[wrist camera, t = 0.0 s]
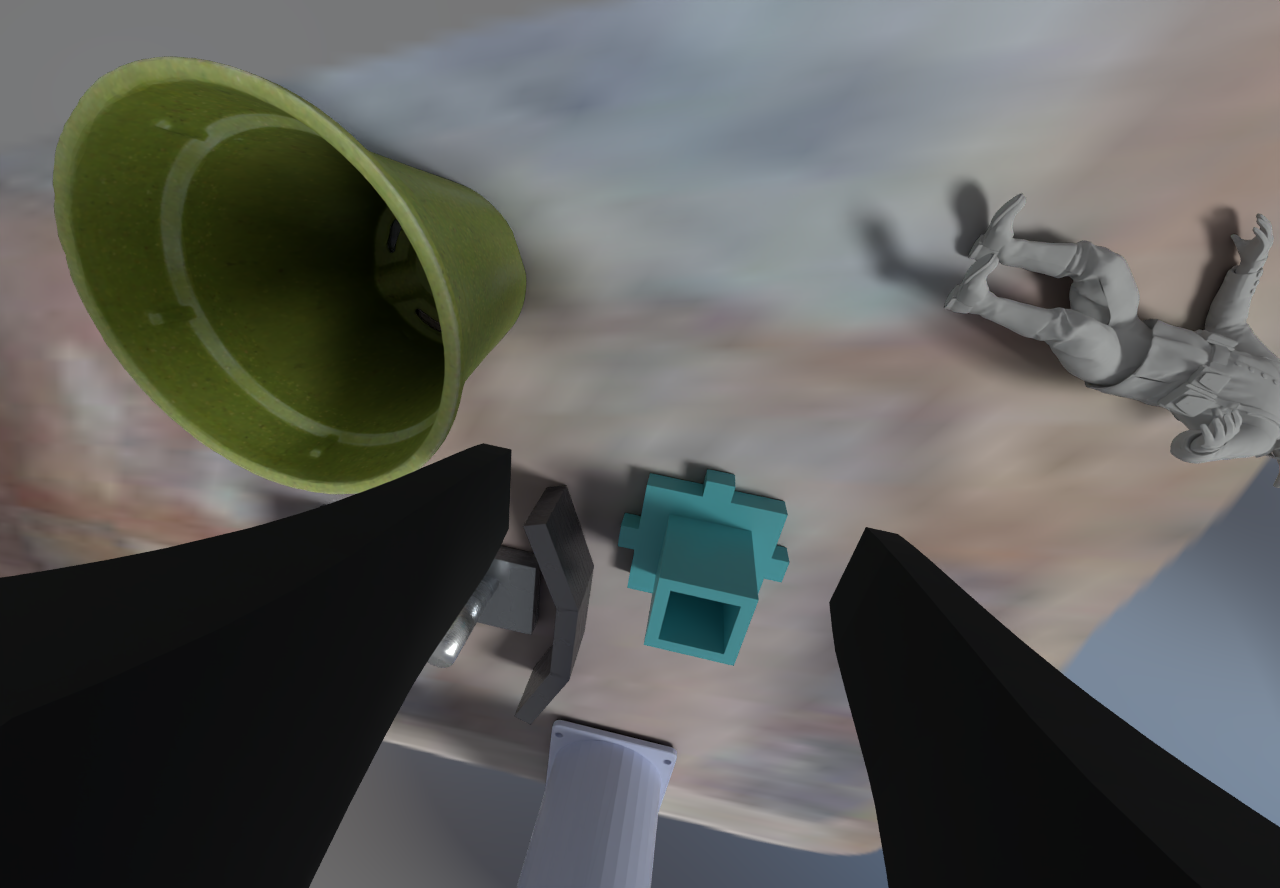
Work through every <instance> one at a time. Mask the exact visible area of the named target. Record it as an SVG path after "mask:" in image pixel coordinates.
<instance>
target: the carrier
mask: <svg viewBox="0 0 1280 888" xmlns="http://www.w3.org/2000/svg"><path fill="white" fill-rule="evenodd" d="M322 506H323V505H322ZM322 506H321V507H322ZM523 527H524V529H525V532H526V534H527V537H528V539H529V542H530V544H531V547H532V549H533V552H534V553H531V552H527V551H522V550H518V549H513V548H509V547H504V546H500V548H499V550H498V552H497V554H496V556H495V558H494V560H493V562H492V564H491V566H490V568H489V570H488V571H487V573H486V574H485V576H484V578H483V579H482V581H481V582H480V584H479V585H478V587H477V588H476V590H475V591H474V593H473V594H472V596H471V597H470V599H469V600H468V602H467V603H466V605H465V606H464V608H463V609H462V611H461V612H460V614H459V615H458V617H457V618H456V620H455V621H454V623H453V624H452V626H451V627H450V629H449V630H448V632H447V633H446V635H445V636H444V638H443V639H442V641H441V642H440V643H439V645H438V646H437V648H436V649H435V651H434V652H433V654H432V655H431V657H430V658H429V660H428V661H427V662H428V663H430V664H431V665H434V666H436V667H441V668H446V667H450V666H451V665H452V664H453V663H454V661H455V660H456V658H457V656H458V654H459V653H460V651H461V649H462V647H463V646H464V644H465V642H466V641H467V639H468V637H469V635H470V634H471V632H472V630H473V628H474V627H475V625H476V623H477V622H479V623H483V624H487V625H491V626H496V627H500V628H504V629H508V630H513V631H517V632H521V633H525V634H529V635H531V634H532V632H533V630H534V628H535V625H536V623H537V621H538V608H539V594H540V581H541V572H542V574H543V577H544V579H545V582H546V584H547V587H548V589H549V592H550V594H551V597H552V599H553V602H554V604H555V607H556V609H557V610H556V620H555V630H554V640H553V644H552V646H551V647H550V648H549V649H548V651H547V652H546V653H545V654H544V656H543V657H542V658H541V660H540V661H539V662H538V663H537V665H536V666H535V667H534V668H533V671H532V673H531V676H530V678H529V681H528V683H527V686H526V688H525V691H524V693H523V696H522V698H521V701H520V703H519V706H518V708H517V711H516V713H515V717H517V718H518V719H520V720H522V721H524V722H526V723H528V724H530V725H531V723H532V722H533V721H534V720H535V719H536V718H537V717H538V715H539V714H540V713H541V712H542V711H543V710H544V709H545V707H546V706H547V705H548V704H549V703H550V702H551V701H552V699H553V698H554V697H555V696H556V695H557V694H558V693H559V691H560V690H561V689H562V688H563V687H564V686H565V685H566V683H567V682H568V681H569V679H570V676H571V673H572V670H573V667H574V663H575V660H576V657H577V654H578V651H579V647H580V644H581V641H582V638H583V635H584V632H585V625H586V618H587V611H588V604H589V597H590V590H591V583H592V576H593V569H594V565H593V562H592V559H591V556H590V553H589V550H588V547H587V544H586V541H585V538H584V535H583V533H582V530H581V527H580V524H579V521H578V518H577V515H576V512H575V509H574V506H573V503H572V500H571V497H570V494H569V491H568V488H567V485H565V486H557V487H549V488H546V490H545V491H544V493H543V495H542V496H541V498H540V500H539V501H538V503H537V505H536V506H535V508H534V510H533V511H532V513H531V514H530V516H529V518H528V519H527V521H526V523H525V524H524V526H523Z"/></svg>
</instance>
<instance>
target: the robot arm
mask: <svg viewBox="0 0 1280 888" xmlns="http://www.w3.org/2000/svg"><path fill="white" fill-rule="evenodd" d="M510 477H511V449H506V448H502V447H497V446H493V445H488V444H484V443H483V444H480V445H477V446H474V447H471V448H468V449H466V450H463V451H461V452H459V453H456V454H454V455H451V456H449V457H447V458H444V459H442V460H440V461H437V462H435V463H433V464H430V465H428V466H426V467H423V468H421V469H419V470H416V471H414V472H411V473H409V474H407V475H404V476H402V477H399V478H397V479H395V480H392V481H390V482H387V483H384V484H382V485H379V486H376V487H374V488H371V489H368V490H366V491H363V492H360V493H358V494H355V495H352V496H350V497H347V498H344V499H342V500H339V501H336V502H334V503H331V504H328V505H325V506H322V507H319V508H316V509H313V510H309V511H306V512H303V513H300V514H297V515H293V516H290V517H287V518H283V519H280V520H276V521H273V522H270V523H266V524H263V525H259V526H255V527H252V528H248V529H244V530H240V531H236V532H232V533H227V534H223V535H219V536H215V537H211V538H206V539H202V540H198V541H194V542H190V543H185V544H181V545H177V546H173V547H169V548H164V549H160V550H155V551H150V552H145V553H140V554H135V555H130V556H125V557H120V558H115V559H109V560H104V561H99V562H93V563H87V564H82V565H76V566H70V567H65V568H59V569H53V570H47V571H41V572H35V573H29V574H22V575H16V576H10V577H3V578H0V888H309V886H310V884H311V882H312V880H313V878H314V876H315V874H316V872H317V870H318V867H319V866H320V863H321V861H322V859H323V857H324V855H325V853H326V851H327V849H328V847H329V845H330V843H331V841H332V839H333V837H334V835H335V833H336V831H337V829H338V827H339V825H340V823H341V821H342V819H343V817H344V814H345V813H346V811H347V808H348V806H349V804H350V802H351V800H352V799H353V797H354V795H355V793H356V791H357V789H358V787H359V785H360V783H361V781H362V779H363V777H364V775H365V773H366V771H367V770H368V768H369V766H370V764H371V762H372V760H373V758H374V756H375V754H376V752H377V750H378V748H379V746H380V744H381V742H382V741H383V739H384V737H385V735H386V733H387V731H388V730H389V728H390V726H391V724H392V722H393V720H394V718H395V717H396V715H397V713H398V711H399V709H400V707H401V706H402V704H403V702H404V700H405V698H406V696H407V694H408V693H409V691H410V689H411V687H412V686H413V684H414V682H415V681H416V679H417V677H418V676H419V674H420V673H421V671H422V669H423V668H424V666H425V664H426V663H427V661H428V660H429V658H430V657H431V655H432V654H433V652H434V651H435V649H436V648H437V646H438V645H439V643H440V642H441V641H442V639H443V638H444V636H445V635H446V633H447V632H448V630H449V629H450V627H451V626H452V624H453V623H454V621H455V620H456V618H457V617H458V615H459V614H460V612H461V611H462V609H463V608H464V606H465V605H466V603H467V602H468V600H469V599H470V597H471V596H472V594H473V593H474V591H475V590H476V588H477V587H478V585H479V584H480V582H481V581H482V579H483V578H484V576H485V574H486V573H487V571H488V570H489V568H490V566H491V564H492V562H493V560H494V558H495V556H496V554H497V552H498V550H499V548H500V546H501V544H502V542H503V540H504V537H505V535H506V533H507V531H508V529H509V504H510ZM829 603H830V613H831V622H832V631H833V638H834V645H835V652H836V656H837V660H838V664H839V668H840V672H841V675H842V679H843V683H844V687H845V691H846V695H847V698H848V702H849V706H850V709H851V713H852V717H853V721H854V724H855V728H856V732H857V735H858V739H859V743H860V747H861V750H862V754H863V758H864V761H865V765H866V769H867V772H868V777H869V781H870V785H871V790H872V794H873V799H874V803H875V808H876V814H877V820H878V826H879V832H880V838H881V843H882V849H883V855H884V861H885V867H886V873H887V879H888V887H889V888H1280V827H1279V826H1277V825H1276V824H1274V823H1273V822H1271V821H1269V820H1268V819H1266V818H1265V817H1263V816H1262V815H1260V814H1259V813H1257V812H1256V811H1254V810H1252V809H1251V808H1250V807H1248V806H1247V805H1245V804H1244V803H1242V802H1241V801H1239V800H1238V799H1236V798H1235V797H1233V796H1232V795H1230V794H1229V793H1227V792H1226V791H1224V790H1223V789H1221V788H1220V787H1218V786H1217V785H1215V784H1214V783H1212V782H1211V781H1209V780H1208V779H1206V778H1205V777H1203V776H1202V775H1200V774H1199V773H1197V772H1196V771H1194V770H1193V769H1191V768H1190V767H1188V766H1187V765H1186V764H1184V763H1182V762H1181V761H1180V760H1178V759H1177V758H1176V757H1174V756H1173V755H1171V754H1170V753H1168V752H1167V751H1165V750H1164V749H1162V748H1161V747H1160V746H1158V745H1157V744H1155V743H1154V742H1153V741H1151V740H1150V739H1148V738H1147V737H1146V736H1144V735H1143V734H1141V733H1140V732H1139V731H1138V730H1136V729H1135V728H1133V727H1132V726H1131V725H1129V724H1128V723H1127V722H1125V721H1124V720H1123V719H1121V718H1120V717H1119V716H1117V715H1116V714H1114V713H1113V712H1112V711H1110V710H1109V709H1108V708H1106V707H1105V706H1104V705H1102V704H1101V703H1099V702H1098V701H1097V700H1095V699H1094V698H1093V697H1091V696H1090V695H1089V694H1088V693H1086V692H1085V691H1084V690H1082V689H1081V688H1080V687H1079V686H1077V685H1076V684H1075V683H1073V682H1072V681H1071V680H1070V679H1068V678H1067V677H1066V676H1064V675H1063V674H1062V673H1061V672H1060V671H1058V670H1057V669H1056V668H1055V667H1053V666H1052V665H1051V664H1050V663H1049V662H1047V661H1046V660H1045V659H1044V658H1042V657H1041V656H1040V655H1039V654H1037V653H1036V652H1035V651H1034V650H1033V649H1031V648H1030V647H1029V646H1028V645H1026V644H1025V643H1024V642H1023V641H1022V640H1020V639H1019V638H1018V637H1017V636H1016V635H1015V634H1013V633H1012V632H1011V631H1010V630H1009V629H1008V628H1006V627H1005V626H1004V625H1003V624H1002V623H1001V622H999V621H998V620H997V619H996V618H995V617H994V616H992V615H991V614H990V613H989V612H988V611H987V610H986V609H984V608H983V607H982V606H981V605H980V604H979V603H978V602H977V601H975V600H974V599H973V598H972V597H971V596H970V595H969V594H967V593H966V592H965V591H964V590H963V589H962V588H961V587H960V586H958V585H957V584H956V583H955V582H954V581H953V580H952V579H951V578H950V577H948V576H947V575H946V574H945V573H944V572H943V571H942V570H941V569H939V568H938V567H937V566H936V565H935V564H934V563H933V562H932V561H930V560H929V559H928V558H927V557H926V556H925V555H923V554H922V553H921V552H920V551H919V550H918V549H916V548H915V547H914V546H913V545H911V544H910V543H909V542H908V541H906V540H905V539H904V538H902V537H901V536H900V535H898V534H895V533H891V532H886V531H881V530H877V529H872V528H868V527H866V528H865V530H864V532H863V534H862V536H861V538H860V541H859V543H858V545H857V547H856V549H855V551H854V553H853V555H852V557H851V559H850V561H849V563H848V565H847V567H846V569H845V571H844V573H843V575H842V577H841V579H840V581H839V584H838V586H837V588H836V590H835V592H834V594H833V596H832V598H831V600H830V602H829ZM676 759H677V751H676V750H675V749H674V748H672V747H669V746H665V745H661V744H657V743H653V742H649V741H644V740H640V739H636V738H632V737H628V736H624V735H620V734H616V733H612V732H608V731H604V730H600V729H596V728H592V727H588V726H584V725H580V724H576V723H572V722H568V721H563V720H556V721H554V723H553V727H552V733H551V742H550V751H549V760H548V769H547V778H546V787H545V794H544V797H543V800H542V804H541V807H540V810H539V814H538V817H537V821H536V824H535V827H534V831H533V834H532V838H531V841H530V844H529V848H528V851H527V854H526V858H525V861H524V865H523V868H522V871H521V875H520V878H519V881H518V885H517V888H651V879H652V878H651V877H652V869H653V859H654V849H655V838H656V828H657V818H658V812H659V809H660V806H661V803H662V800H663V797H664V794H665V791H666V788H667V785H668V783H669V780H670V777H671V774H672V771H673V768H674V765H675V762H676Z"/></svg>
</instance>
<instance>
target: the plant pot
mask: <svg viewBox="0 0 1280 888" xmlns="http://www.w3.org/2000/svg"><path fill="white" fill-rule="evenodd" d="M53 188H54V192H55V202H54V213H55V218H56V223H57V230H58V236H59V239H60V242H61V245H62V247H63V250H64V252H65V254H66V260H67V264H68V268H69V270H70V275H71V278H72V281H73V283H74V285H75V287H76V289H77V292H78V294H79V296H80V298H81V300H82V302H83V304H84V306H85V308H86V310H87V311H88V313H89V315H90V317H91V318H92V320H93V322H94V324H95V325H96V327H97V329H98V330H99V332H100V333H101V335H102V337H103V339H104V341H105V343H106V344H107V346H108V347H109V348H110V350H111V351H112V352H113V354H114V355H115V356H116V358H117V359H118V360H119V362H120V363H121V365H122V366H123V367H124V369H125V370H126V371H127V372H128V373H129V375H130V376H131V377H132V378H133V379H134V381H135V382H136V383H137V385H138V386H139V387H140V388H141V389H142V390H143V391H144V392H145V393H146V394H147V395H148V396H149V397H150V399H151V400H152V401H153V402H154V403H155V404H157V405H158V406H159V407H160V408H161V409H162V410H163V411H164V412H165V413H166V414H167V415H168V416H169V417H170V418H171V419H172V420H174V421H175V422H176V423H178V424H179V425H180V426H181V427H182V428H183V429H184V430H186V431H187V432H189V433H190V434H191V435H192V436H193V437H194V438H196V439H197V440H198V441H200V442H201V443H202V444H204V445H205V446H207V447H209V448H210V449H212V450H213V451H215V452H217V453H219V454H220V455H222V456H223V457H225V458H226V459H228V460H230V461H231V462H233V463H235V464H236V465H238V466H240V467H242V468H244V469H246V470H248V471H250V472H252V473H254V474H256V475H258V476H261V477H263V478H265V479H267V480H270V481H273V482H276V483H279V484H282V485H285V486H289V487H292V488H296V489H303V490H307V491H311V492H317V493H326V494H358V493H360V492H363V491H366V490H368V489H371V488H374V487H376V486H379V485H382V484H384V483H387V482H390V481H392V480H395V479H397V478H399V477H402V476H404V475H407V474H409V473H411V472H414V471H416V470H418V469H420V468H421V467H422V466H423V465H424V464H425V463H426V462H427V461H428V460H429V459H430V458H431V457H432V456H433V455H434V454H435V452H436V451H437V450H438V449H439V447H440V446H441V445H442V443H443V442H444V440H445V439H446V437H447V435H448V433H449V431H450V429H451V427H452V424H453V422H454V420H455V417H456V414H457V411H458V407H459V404H460V399H461V395H462V390H463V386H464V383H465V381H466V380H467V379H468V377H469V376H470V375H471V374H472V372H473V371H474V370H475V369H476V368H477V366H478V365H479V364H480V363H481V362H482V360H483V359H484V358H485V357H486V356H487V355H488V354H489V353H490V351H491V350H492V349H493V348H494V347H495V346H496V345H497V344H498V343H499V342H500V340H501V339H502V338H503V337H504V336H505V334H506V333H507V332H508V331H509V330H510V329H511V328H512V326H513V325H514V324H515V322H516V320H517V318H518V317H519V314H520V312H521V309H522V306H523V302H524V298H525V292H526V273H525V270H524V266H523V263H522V260H521V257H520V253H519V250H518V247H517V244H516V241H515V238H514V235H513V232H512V230H511V229H510V227H509V225H508V224H507V222H506V221H505V219H504V218H503V217H502V215H501V214H500V213H499V212H498V211H497V210H496V209H495V208H494V207H493V206H492V205H491V204H490V203H489V202H488V201H487V200H486V199H485V198H483V197H482V196H481V195H479V194H478V193H476V192H475V191H473V190H471V189H469V188H467V187H465V186H463V185H460V184H458V183H455V182H452V181H450V180H447V179H444V178H442V177H439V176H436V175H433V174H430V173H427V172H425V171H422V170H419V169H416V168H413V167H410V166H408V165H405V164H402V163H400V162H397V161H394V160H392V159H389V158H386V157H383V156H381V155H378V154H375V153H373V152H370V151H368V150H367V149H365V148H364V147H363V146H362V145H361V144H360V143H359V142H358V141H357V140H356V139H355V138H354V137H353V136H352V135H351V134H350V133H349V132H347V131H346V130H345V129H344V128H343V127H341V126H340V125H339V124H338V123H337V122H335V121H334V120H333V119H332V118H330V117H329V116H328V115H326V114H325V113H324V112H322V111H321V110H320V109H318V108H317V107H315V106H314V105H312V104H311V103H309V102H308V101H306V100H304V99H303V98H301V97H300V96H298V95H297V94H295V93H293V92H291V91H289V90H287V89H285V88H283V87H282V86H280V85H278V84H275V83H273V82H271V81H269V80H266V79H264V78H262V77H260V76H257V75H254V74H252V73H249V72H246V71H243V70H241V69H238V68H235V67H232V66H229V65H225V64H221V63H216V62H212V61H208V60H202V59H196V58H184V57H157V58H150V59H142V60H138V61H134V62H131V63H128V64H126V65H123V66H120V67H118V68H117V69H115V70H114V71H111V72H109V73H107V74H105V75H103V76H102V77H100V78H99V79H98V80H97V81H96V82H95V83H94V84H93V85H92V86H91V87H90V88H89V89H88V90H87V91H86V92H85V94H84V95H83V96H82V97H81V98H80V100H79V102H78V105H77V106H76V108H75V109H74V110H73V112H72V114H71V116H70V117H69V119H68V120H67V122H66V123H65V125H64V129H63V132H62V134H61V135H60V138H59V142H58V144H57V147H56V152H55V163H54V171H53ZM395 219H397V220H398V222H399V223H400V225H401V227H402V228H401V231H400V233H399V235H398V239H397V242H396V245H395V252H392V253H391V252H390V250H389V248H388V246H387V243H388V239H389V235H390V227H391V225H392V223H393V221H394V220H395ZM416 309H420V310H421V311H423V312H424V313H426V314H427V315H428V316H429V317H431V318H432V319H433V320H435V321H437V322H439V323H440V326H441V331H438V330H435V329H433V328H431V327H430V326H429V325H427V324H426V323H424V322H423V321H422V320H421V319H420V318H419V317H418V316H417V313H416Z"/></svg>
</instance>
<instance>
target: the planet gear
mask: <svg viewBox="0 0 1280 888" xmlns="http://www.w3.org/2000/svg"><path fill="white" fill-rule="evenodd" d="M734 490H735V475H733V474H729V473H724V472H719V471H714V470H710V469H707V472H706V476H705V480H704V484H699V483H695V482H690V481H685V480H680V479H676V478H671V477H666V476H661V475H657V474H652V473H650V475H649V479H648V483H647V488H646V493H645V498H644V504H643V509H642V514H641V516H638V515H634V514H629V513H625V514H624V518H623V521H622V524H621V529H620V535H619V541H618V546H620V547H625V548H629V549H634V555H633V561H632V566H631V571H630V576H629V581H628V587H627V588H631V589H635V590H640V591H644V592H649V593H653V594H652V599H651V605H650V611H649V617H648V623H647V629H646V635H645V641H644V645H647V646H652V647H656V648H660V649H664V650H669V651H673V652H677V653H682V654H686V655H690V656H694V657H699V658H703V659H707V660H711V661H716V662H720V663H724V664H728V665H733V666H734V663H735V661H736V658H737V656H738V653H739V650H740V648H741V645H742V642H743V640H744V637H745V634H746V632H747V629H748V626H749V624H750V621H751V618H752V616H753V613H754V611H755V608H756V605H757V603H758V593H759V590H760V587H761V585H762V582H763V579H768V580H773V581H777V582H782V580H783V577H784V575H785V572H786V570H787V567H788V565H789V558H788V553H787V548H785V547H780V546H776V545H777V542H778V539H779V537H780V534H781V531H782V529H783V526H784V523H785V521H786V518H787V515H788V514H787V510H786V505H785V502H784V501H779V500H775V499H770V498H765V497H761V496H756V495H751V494H746V493H742V492H737V491H734Z"/></svg>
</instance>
